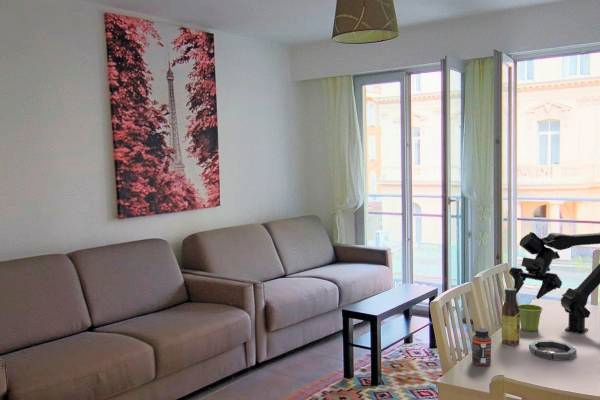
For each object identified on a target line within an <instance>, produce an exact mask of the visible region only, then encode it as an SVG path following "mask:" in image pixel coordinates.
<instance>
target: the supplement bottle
mask: <svg viewBox="0 0 600 400" xmlns="http://www.w3.org/2000/svg"><path fill="white" fill-rule="evenodd" d="M471 339H472V340H471V343H472V344H471V361H472V363H473V364H474V365H477V366H480V367H481V366H482V367H485V366H489V365H491V362H492V360H491V359H492V337H491V336H490V335H489V330H488V329H487V328H484V327H483V328H482V327H481V328H480V327H478V328H476V329H475V334H473V336H472V338H471Z"/></svg>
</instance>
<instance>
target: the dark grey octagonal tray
mask: <svg viewBox="0 0 600 400" xmlns="http://www.w3.org/2000/svg"><path fill="white" fill-rule="evenodd" d="M528 350H529V352H530V353H531V354H533V356H536V357H538V358H541V359H547V360H553V361H567V360H572V359H573V358H575V356H576V355H577V349H576V348H575V347H574V346H573V345H571V344H570V343H567V342H562V341H557V340H553V339H551V340H550V339H548V340H545V339H544V340H541V339H540V340H538V339H537V340H534V341H533V342H531V343H529V344H528Z"/></svg>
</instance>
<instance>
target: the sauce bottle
mask: <svg viewBox="0 0 600 400" xmlns="http://www.w3.org/2000/svg"><path fill="white" fill-rule="evenodd" d="M504 293H505V294H504V295H505V296H504V297H505V299H504V300H505V302H504V304H502V306H501V342H502V343H503V344H504V345H508V346H516V345H519V344H520V340H521V323H520V310H519V307H518V305H519V304H518V302H517V294H518V293H517V289H514V287H506V288H504ZM516 293H517V294H516Z"/></svg>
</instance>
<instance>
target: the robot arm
mask: <svg viewBox="0 0 600 400" xmlns="http://www.w3.org/2000/svg"><path fill="white" fill-rule="evenodd" d="M588 245H591V246H592V245H600V232H595V233H579V234H565V233H558V232H551V233H550V232H549V234H547V236H544V237H539V236H538V235H537V234H536V233H534V232H533V231H530V232H529V233H527V234H526V235H524V236H523V237H522V238H521V239H520V241H519V246H520V247H521V248H523V249H524V250H525V251H526V252H527V253H529V254H530V255H532V256H533V255H535V258H530V257H523V258H522V261H521V267H524V268H525V271H527V272H524V270H523V269H522V268H521V267H515V266H514V267H511V268H510V269H509V271H508V274H509V275H510V276H511V277H512V279H513V282H514V285H513V288H514V289H517V293H516V295H517V294H518V293H519V292H520V290H521V289H522V287H523V285H524V284H525V281H526V279H530V280H536V281H540V282H541V281H542V282H541V286H540V288H539V290H538V292H537V294H536V296H535V298H536V300H539V299H541V298H542V297H543V296H545V295H546V294H548V293H550V292H551V291H554V290H557V289H561V287H562V284H563V282H562V280H561V278H560V277H559V276H558V273H551V272H550V271H551V268H550V266H551V264H552V261H553V260H557V259H560V258H561V256H560V255H559V252H558V251H563V250H567V249H570V248H572V247H575V246H588ZM553 249H554V250H553ZM555 250H557V251H555ZM599 286H600V263H598V265H597V266H596V267H595V268H594V269H593V270H592V271H591V272H590V273H589V274H588V276H587V277H586V278H585V279H584V280H583V281H582V282H581V283H580V284H579V286H578V287H576V288H574V289H573V288H570V287H569V288H567V290H566V291H565V292H564V293H563V294H561V296H562V297H561V298H560V305H561V307H563V310H564V311H565V312H566V313H568V327H566V328H564V331H566V332H572V333H577V334H584V333H586V332H588V331H589V328H586V319H588V318H590V315H591V312H590V310H588V308H587V307H586V305H587V304H588V299H589V297H590V295H591V294H592V293H593V292H594V291H595V289H597V288H598V287H599Z"/></svg>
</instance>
